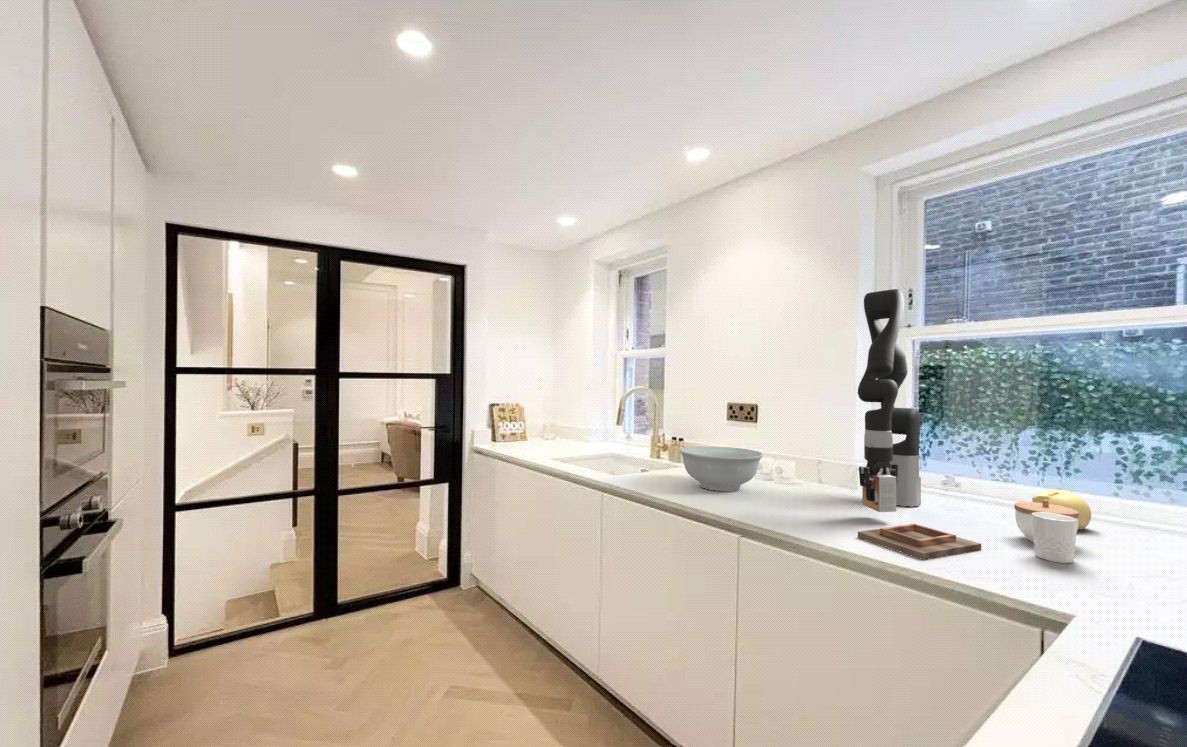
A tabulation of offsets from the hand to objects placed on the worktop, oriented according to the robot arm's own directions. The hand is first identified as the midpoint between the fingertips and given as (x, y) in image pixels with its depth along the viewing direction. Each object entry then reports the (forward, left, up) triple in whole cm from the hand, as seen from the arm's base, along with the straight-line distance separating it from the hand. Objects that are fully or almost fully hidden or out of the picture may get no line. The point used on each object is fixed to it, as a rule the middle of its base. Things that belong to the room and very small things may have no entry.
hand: (878, 499), depth 149 cm
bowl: (+17, -56, -7) cm, 59 cm away
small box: (0, 0, -3) cm, 3 cm away
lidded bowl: (-24, +30, -7) cm, 39 cm away
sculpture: (-46, +23, -7) cm, 51 cm away
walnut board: (+10, +19, -6) cm, 22 cm away
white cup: (-11, +38, -7) cm, 40 cm away
